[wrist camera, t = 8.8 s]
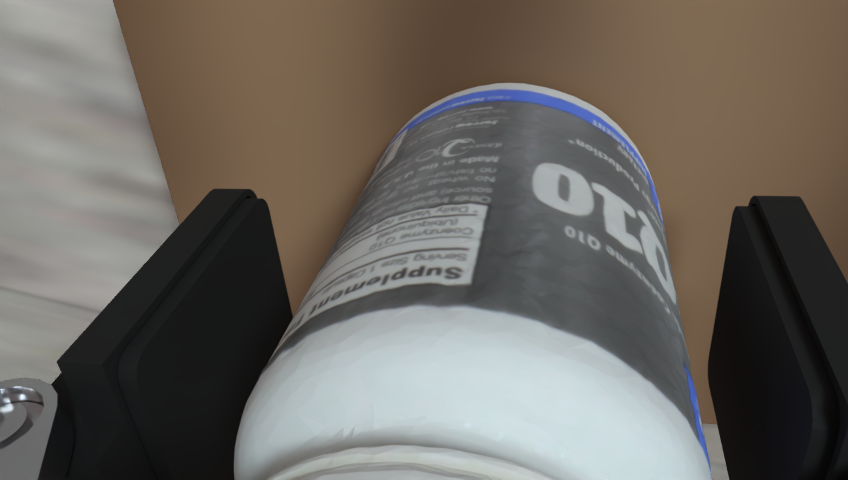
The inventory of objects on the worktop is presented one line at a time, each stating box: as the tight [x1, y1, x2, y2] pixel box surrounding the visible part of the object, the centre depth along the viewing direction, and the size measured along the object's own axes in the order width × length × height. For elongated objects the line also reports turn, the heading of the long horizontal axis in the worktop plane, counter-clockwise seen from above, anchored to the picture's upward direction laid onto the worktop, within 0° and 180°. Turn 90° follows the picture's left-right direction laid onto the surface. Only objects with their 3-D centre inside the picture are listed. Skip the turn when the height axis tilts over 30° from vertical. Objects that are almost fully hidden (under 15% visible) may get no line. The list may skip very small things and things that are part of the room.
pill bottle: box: [234, 83, 712, 480], centre depth 9 cm, size 5×5×8 cm
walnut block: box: [113, 0, 848, 424], centre depth 13 cm, size 12×9×2 cm
